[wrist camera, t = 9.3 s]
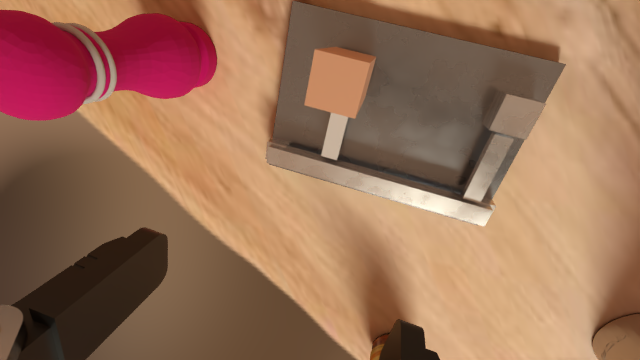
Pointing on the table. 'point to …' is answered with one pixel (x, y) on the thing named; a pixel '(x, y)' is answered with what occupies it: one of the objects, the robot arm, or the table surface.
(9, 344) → the robot arm
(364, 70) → the block
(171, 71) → the pepper mill
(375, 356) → the sauce bottle
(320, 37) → the hole plate
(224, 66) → the table surface
